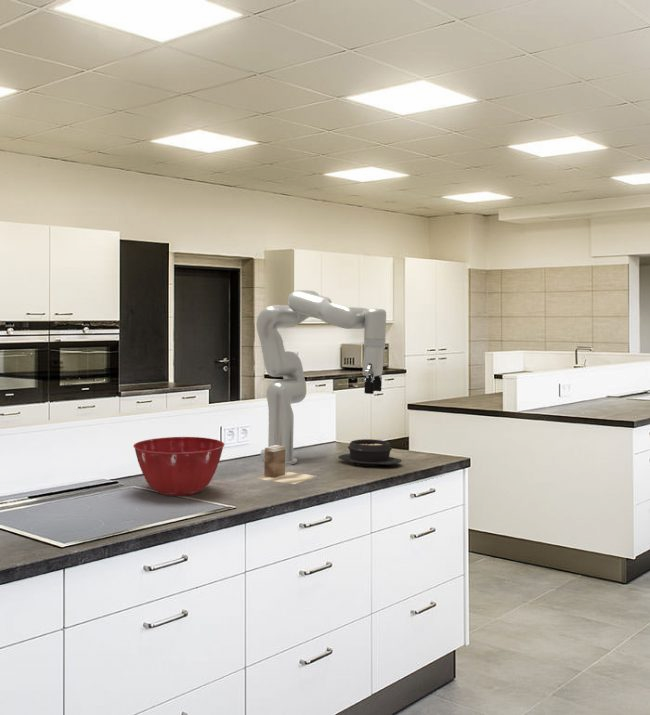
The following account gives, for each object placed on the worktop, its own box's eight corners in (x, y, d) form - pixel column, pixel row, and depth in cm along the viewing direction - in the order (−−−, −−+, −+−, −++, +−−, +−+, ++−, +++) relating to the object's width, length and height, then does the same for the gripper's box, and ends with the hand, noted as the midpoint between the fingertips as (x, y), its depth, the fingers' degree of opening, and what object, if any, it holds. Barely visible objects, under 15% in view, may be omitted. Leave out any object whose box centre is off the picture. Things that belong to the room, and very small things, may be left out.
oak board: (254, 480, 282) (254, 478, 282) (279, 472, 295) (279, 470, 295) (294, 485, 274) (294, 484, 274) (318, 477, 288) (318, 476, 288)
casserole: (329, 464, 314) (329, 442, 313) (351, 456, 330) (352, 436, 329) (388, 471, 301) (389, 448, 301) (409, 463, 318) (409, 442, 317)
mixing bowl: (181, 506, 243) (181, 454, 242) (113, 493, 258) (113, 444, 257) (241, 490, 266) (242, 442, 265) (176, 478, 282) (176, 433, 281)
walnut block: (264, 476, 285) (264, 447, 284) (275, 473, 291) (275, 445, 290) (274, 477, 283) (274, 449, 282) (284, 474, 289) (285, 446, 288)
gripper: (371, 342, 299) (369, 389, 300) (357, 344, 282) (355, 394, 283) (391, 343, 296) (389, 390, 297) (378, 345, 280) (376, 395, 281)
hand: (373, 392), depth 290 cm, fingers open, 9 cm apart
